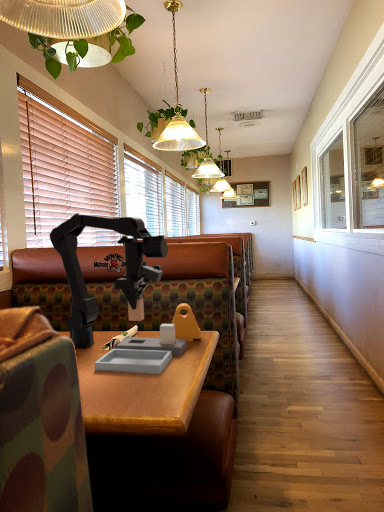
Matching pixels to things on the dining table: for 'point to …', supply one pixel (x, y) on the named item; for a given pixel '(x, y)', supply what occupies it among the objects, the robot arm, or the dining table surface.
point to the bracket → (185, 324)
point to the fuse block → (153, 345)
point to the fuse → (167, 334)
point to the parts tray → (134, 361)
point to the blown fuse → (137, 309)
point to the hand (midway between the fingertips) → (135, 308)
